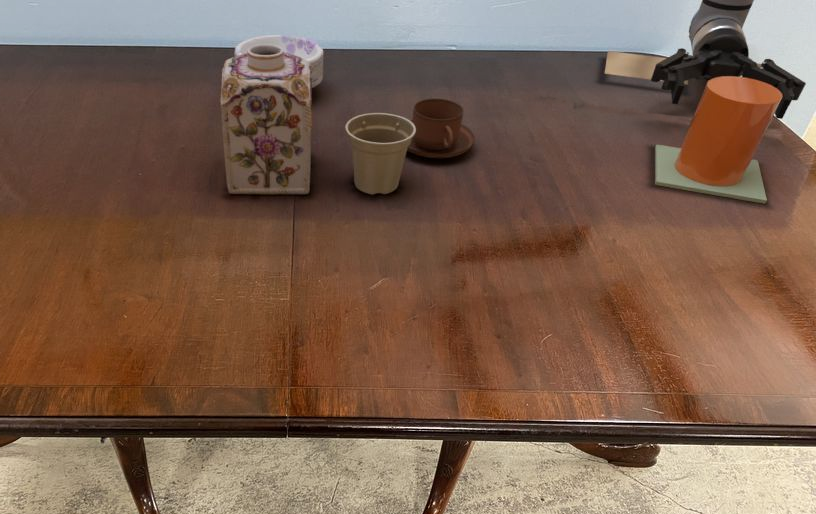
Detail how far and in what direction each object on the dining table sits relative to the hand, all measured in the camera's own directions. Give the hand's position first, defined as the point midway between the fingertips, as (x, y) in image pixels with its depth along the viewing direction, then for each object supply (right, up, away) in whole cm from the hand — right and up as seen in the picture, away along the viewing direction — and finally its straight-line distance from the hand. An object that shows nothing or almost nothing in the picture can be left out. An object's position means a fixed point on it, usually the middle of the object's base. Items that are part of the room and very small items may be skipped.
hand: (730, 102), depth 95 cm
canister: (-2, -9, +2) cm, 10 cm away
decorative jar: (-65, -10, +2) cm, 66 cm away
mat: (-2, -10, +2) cm, 10 cm away
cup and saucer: (-41, -4, +9) cm, 42 cm away
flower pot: (-50, -12, 0) cm, 52 cm away
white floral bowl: (-65, +9, +24) cm, 70 cm away
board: (+3, +15, +29) cm, 33 cm away
